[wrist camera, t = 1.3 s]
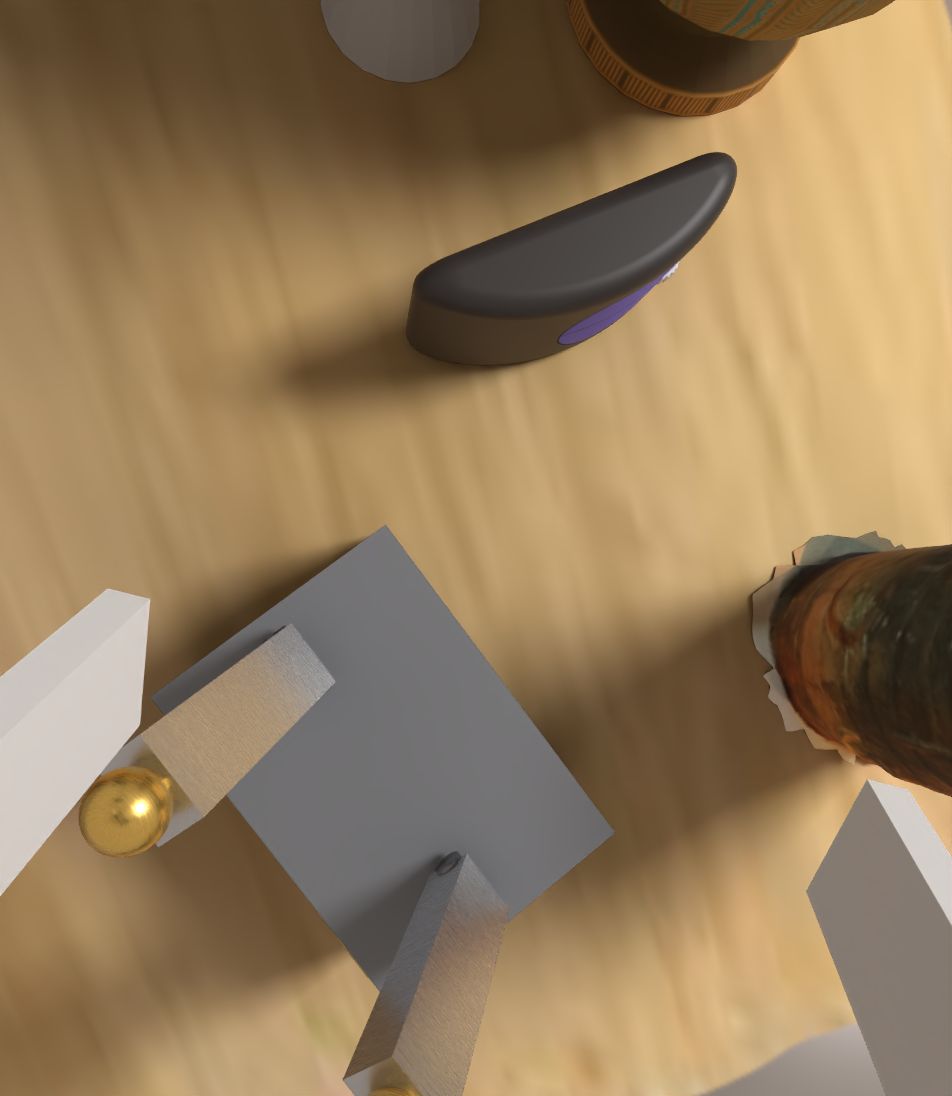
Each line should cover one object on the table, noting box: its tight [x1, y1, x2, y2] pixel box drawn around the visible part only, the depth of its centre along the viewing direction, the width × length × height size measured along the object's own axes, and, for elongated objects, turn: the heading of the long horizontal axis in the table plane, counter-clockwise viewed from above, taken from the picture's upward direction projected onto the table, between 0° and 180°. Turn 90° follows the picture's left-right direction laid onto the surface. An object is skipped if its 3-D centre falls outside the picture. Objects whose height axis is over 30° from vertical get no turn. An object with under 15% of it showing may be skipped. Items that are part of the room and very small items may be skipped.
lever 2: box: [343, 851, 509, 1096], centre depth 27 cm, size 3×2×13 cm
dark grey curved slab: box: [406, 152, 737, 365], centre depth 39 cm, size 16×5×9 cm, turn 115°
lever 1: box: [79, 623, 336, 857], centre depth 27 cm, size 3×2×13 cm
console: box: [150, 525, 615, 991], centre depth 37 cm, size 17×13×8 cm
